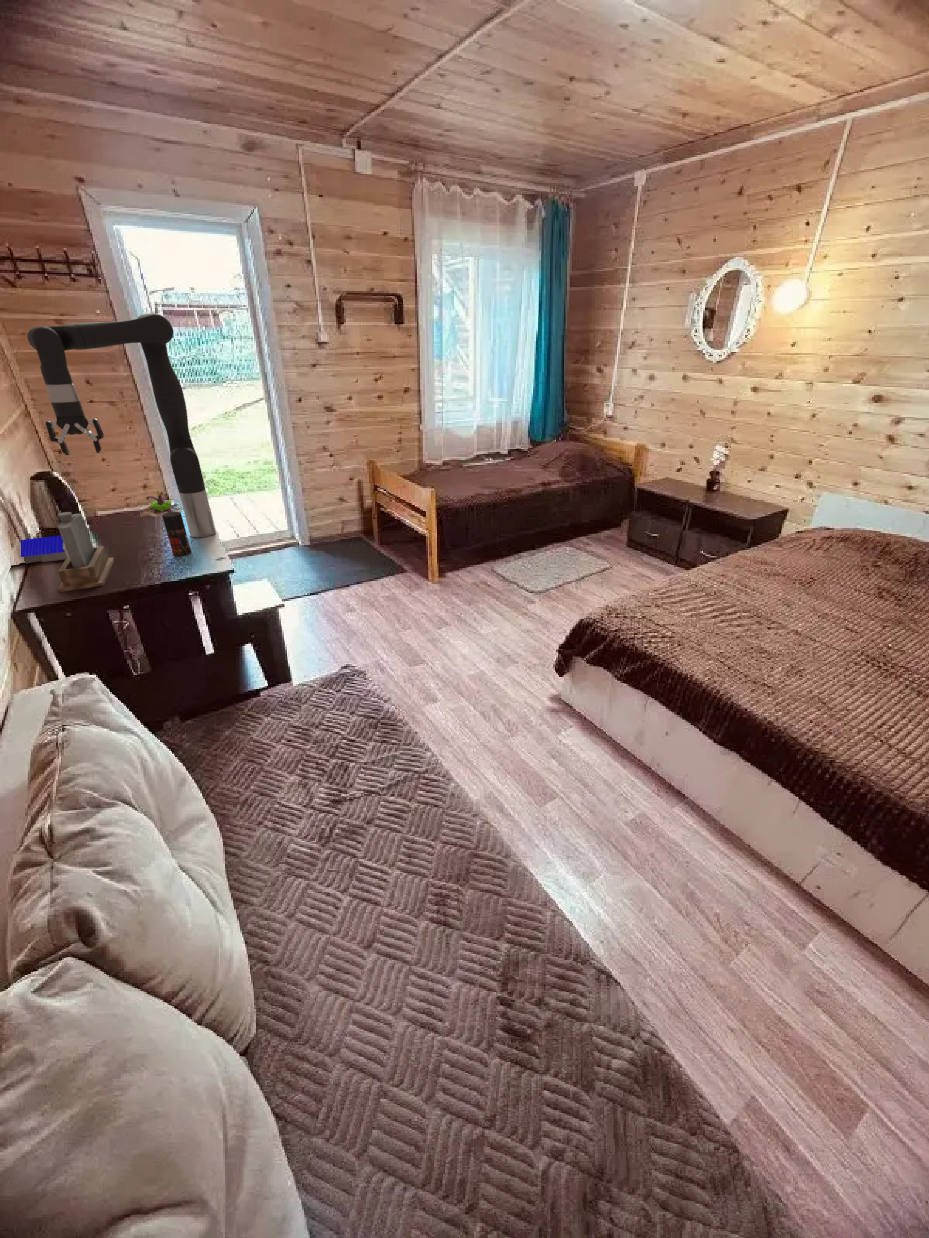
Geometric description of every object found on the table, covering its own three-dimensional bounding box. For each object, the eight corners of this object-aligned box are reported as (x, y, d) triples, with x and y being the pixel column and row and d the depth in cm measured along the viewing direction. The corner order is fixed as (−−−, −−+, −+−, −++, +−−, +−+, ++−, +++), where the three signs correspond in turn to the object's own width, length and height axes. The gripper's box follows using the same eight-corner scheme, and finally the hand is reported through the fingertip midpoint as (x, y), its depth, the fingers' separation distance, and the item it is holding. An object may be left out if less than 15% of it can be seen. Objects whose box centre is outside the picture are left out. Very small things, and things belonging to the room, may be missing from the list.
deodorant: (172, 553, 190) (161, 513, 183) (190, 550, 193) (180, 510, 185) (174, 558, 185) (162, 517, 178) (192, 555, 188) (181, 515, 181)
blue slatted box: (76, 547, 196) (69, 528, 193) (67, 560, 185) (60, 540, 182) (5, 555, 189) (-4, 536, 186) (-9, 569, 178) (-18, 549, 174)
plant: (137, 524, 222) (129, 498, 217) (139, 512, 237) (132, 488, 232) (189, 518, 230) (182, 492, 224) (188, 506, 245) (181, 483, 240)
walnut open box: (114, 560, 184) (108, 543, 182) (103, 585, 165) (97, 568, 162) (74, 565, 180) (68, 548, 177) (58, 592, 161) (51, 574, 158)
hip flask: (88, 580, 166) (66, 519, 157) (74, 582, 165) (50, 521, 156) (99, 562, 179) (79, 505, 170) (86, 564, 178) (64, 507, 169)
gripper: (93, 398, 167) (110, 450, 175) (40, 400, 162) (59, 453, 170) (89, 400, 161) (106, 454, 169) (34, 402, 156) (54, 457, 164)
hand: (83, 453), depth 169 cm, fingers open, 8 cm apart
